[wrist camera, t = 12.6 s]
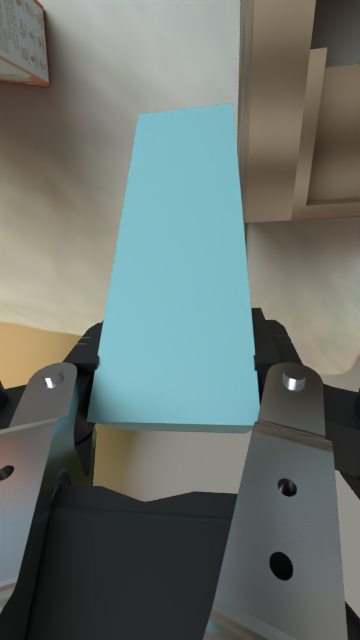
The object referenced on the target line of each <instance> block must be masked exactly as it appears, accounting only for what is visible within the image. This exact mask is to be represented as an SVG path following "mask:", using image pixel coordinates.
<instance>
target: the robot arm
mask: <svg viewBox="0 0 360 640" xmlns="http://www.w3.org/2000/svg"><path fill="white" fill-rule="evenodd" d="M251 313H252V324H253V336H254V347H255V355H253V358H254V369H255V371H257V380H258V392H259V403H260V410H259V414H258V419H257V421H255V422H254V426H253V430H252V434H251V439H250V443H249V447H248V452H247V456H246V461H245V465H244V470H243V475H242V479H241V483H240V488H239V492H238V494H231V493H212V492H190V493H185V494H181V495H177V496H172V497H167V498H163V499H158V500H154V501H149V502H143V501H139V500H137V499H134V498H131V497H128V496H126V495H123V494H121V493H118V492H115V491H113V490H110V489H107V488H105V487H102V486H93V480H94V466H95V452H96V438H97V431H96V428H95V424H96V423H93V422H88V421H87V415H88V409H89V404H90V398H91V392H92V386H93V380H94V374H95V370H97V366H98V360H99V356H98V350H99V345H100V339H101V333H102V327H103V321H104V320H103V321H102V323H97V324H96V325H94V326H92V327H91V328H89V329H88V330H87V331H86V333H85V334H84V335H83V336H82V338H81V339H80V340H79V342H78V343H77V345H75V347H74V348H73V349H72V351H71V352H70V353H69V354H68V356H67V357H66V358H65V360H64V361H63V362H62V363H56V364H52V365H49V366H46V367H44V368H42V369H40V370H39V371H38V372H36V373H35V374H34V375H33V376H32V377H31V378H30V380H29V382H28V384H27V385H23V386H18V387H13V388H8V389H4V387H3V385H2V384H1V381H0V640H360V618H359V617H358V616H357V615H356V613H355V612H354V611H353V610H352V609H351V607H350V606H349V605H348V604H347V603H346V601H345V598H344V584H343V571H342V558H341V545H340V532H339V520H338V507H337V494H336V480H335V470H338V471H340V473H341V475H342V477H343V478H344V479H345V481H346V482H347V483H348V485H349V486H350V487H351V489H352V490H353V491H354V493H355V494H356V495H357V497H358V498H359V499H360V389H359V392H353V391H348V390H344V389H340V388H335V387H331V386H329V385H325V384H323V382H322V379H321V377H320V376H319V374H318V373H317V372H315V371H314V370H313V369H311V368H309V367H307V366H305V365H303V364H302V362H301V360H300V358H299V356H298V354H297V352H296V350H295V348H294V346H293V344H292V343H291V340H290V338H289V336H288V334H287V332H286V329H285V327H284V326H283V325H281V324H280V323H279V322H277V321H276V320H265V318H264V315H263V313H262V310H261V308H251Z"/></svg>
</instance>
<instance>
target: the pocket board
mask: <svg viewBox="0 0 360 640" xmlns="http://www.w3.org/2000/svg"><path fill="white" fill-rule="evenodd" d="M315 4H316V0H241V7H240V51H239V95H238V139H237V157H238V168H239V179H240V190H241V201H242V213H243V220H244V222H245V223H257V222H273V221H290V220H307V219H323V218H340V217H356V216H360V63H359V64H351V65H343V66H334V67H326V68H325V62H326V55H327V47H326V48H318V49H311V50H310V48H311V40H312V31H313V22H314V13H315Z"/></svg>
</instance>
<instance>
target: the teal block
mask: <svg viewBox="0 0 360 640" xmlns="http://www.w3.org/2000/svg"><path fill="white" fill-rule="evenodd" d="M253 355H255V347H254V336H253V324H252V313H251V302H250V291H249V280H248V269H247V257H246V246H245V235H244V224H243V213H242V201H241V190H240V179H239V168H238V157H237V145H236V134H235V123H234V112H233V104H225V105H216V106H207V107H198V108H189V109H181V110H172V111H163V112H154V113H145V114H139V115H138V121H137V127H136V132H135V138H134V144H133V150H132V156H131V162H130V168H129V174H128V180H127V185H126V191H125V197H124V203H123V209H122V215H121V221H120V227H119V233H118V238H117V244H116V250H115V256H114V262H113V268H112V274H111V280H110V286H109V292H108V297H107V303H106V309H105V315H104V321H103V327H102V333H101V339H100V345H99V350H98V356H99V360H98V366H97V370H95V374H94V380H93V386H92V392H91V398H90V404H89V409H88V415H87V421H88V422H93V423H98V424H103V425H107V426H112V427H118V428H122V429H127V430H145V431H146V430H147V431H180V432H214V433H247V432H249V431H251V430H253V426H254V422H255V421H257V419H258V414H259V410H260V403H259V392H258V380H257V371H255V369H254V358H253Z"/></svg>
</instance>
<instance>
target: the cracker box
mask: <svg viewBox="0 0 360 640" xmlns="http://www.w3.org/2000/svg"><path fill="white" fill-rule="evenodd" d="M0 81H7V82H15V83H22V84H30V85H37V86H45V87H50V82H49V69H48V58H47V46H46V35H45V23H44V12H43V6H42V5H41V4H40V3H39V2H38V1H37V0H0Z"/></svg>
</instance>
